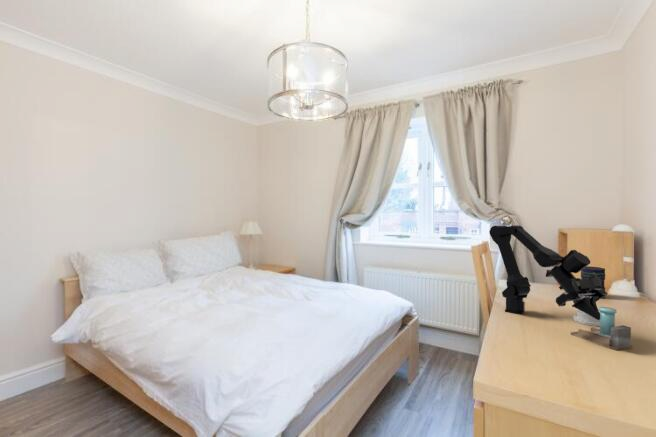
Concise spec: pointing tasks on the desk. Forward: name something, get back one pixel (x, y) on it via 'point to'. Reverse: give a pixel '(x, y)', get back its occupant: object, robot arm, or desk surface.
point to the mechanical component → (585, 319)
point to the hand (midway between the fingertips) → (600, 319)
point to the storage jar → (593, 272)
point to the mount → (617, 341)
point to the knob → (606, 321)
